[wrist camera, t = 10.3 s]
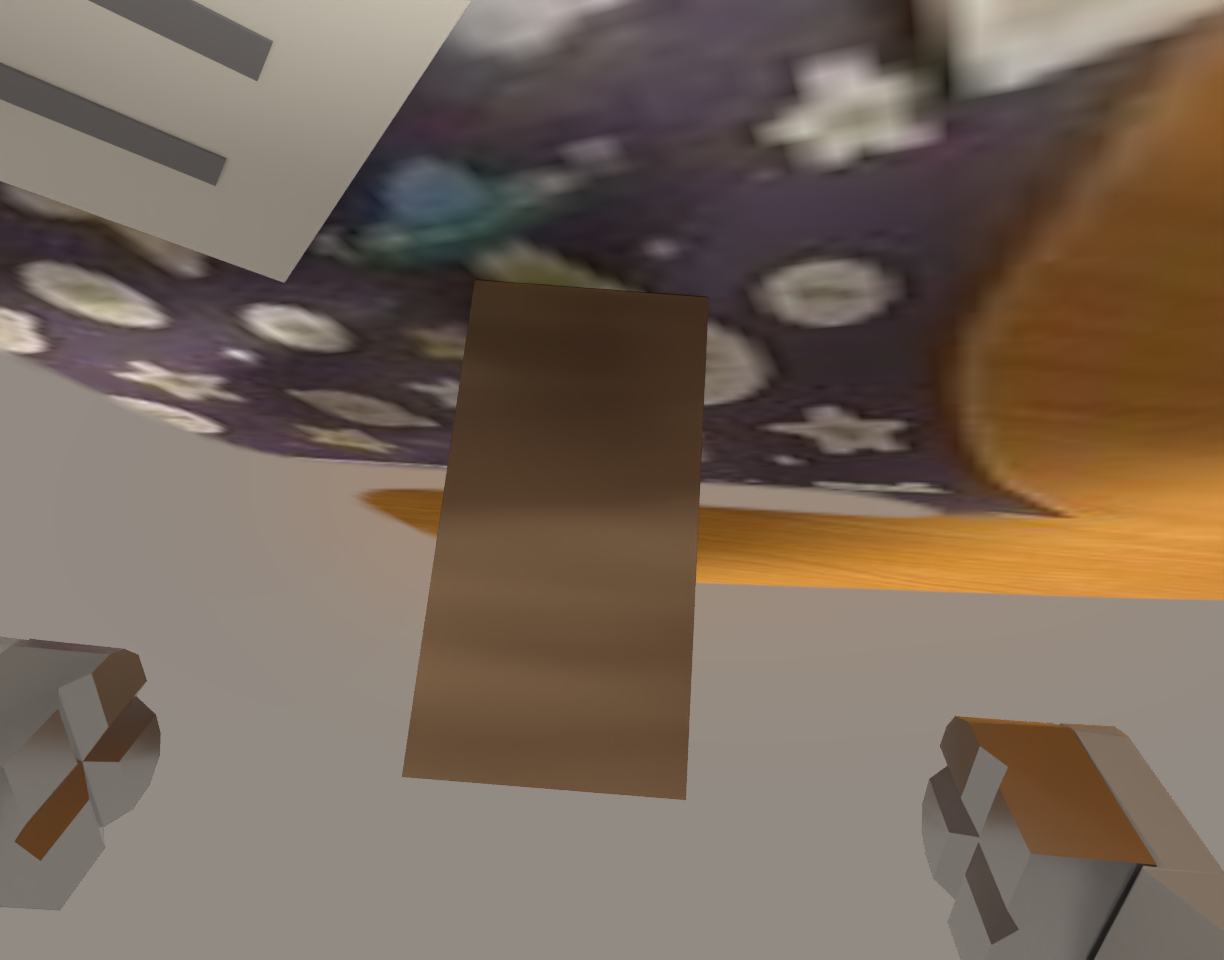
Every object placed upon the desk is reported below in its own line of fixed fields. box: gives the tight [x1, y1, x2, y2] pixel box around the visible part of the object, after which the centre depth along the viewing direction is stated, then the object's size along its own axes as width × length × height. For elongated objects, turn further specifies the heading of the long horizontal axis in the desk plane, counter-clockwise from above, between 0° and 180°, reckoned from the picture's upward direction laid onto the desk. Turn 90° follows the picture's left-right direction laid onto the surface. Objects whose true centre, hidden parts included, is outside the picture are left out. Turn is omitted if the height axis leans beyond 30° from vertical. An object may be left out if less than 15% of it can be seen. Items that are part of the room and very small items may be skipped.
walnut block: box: [402, 280, 709, 800], centre depth 14 cm, size 3×4×8 cm
